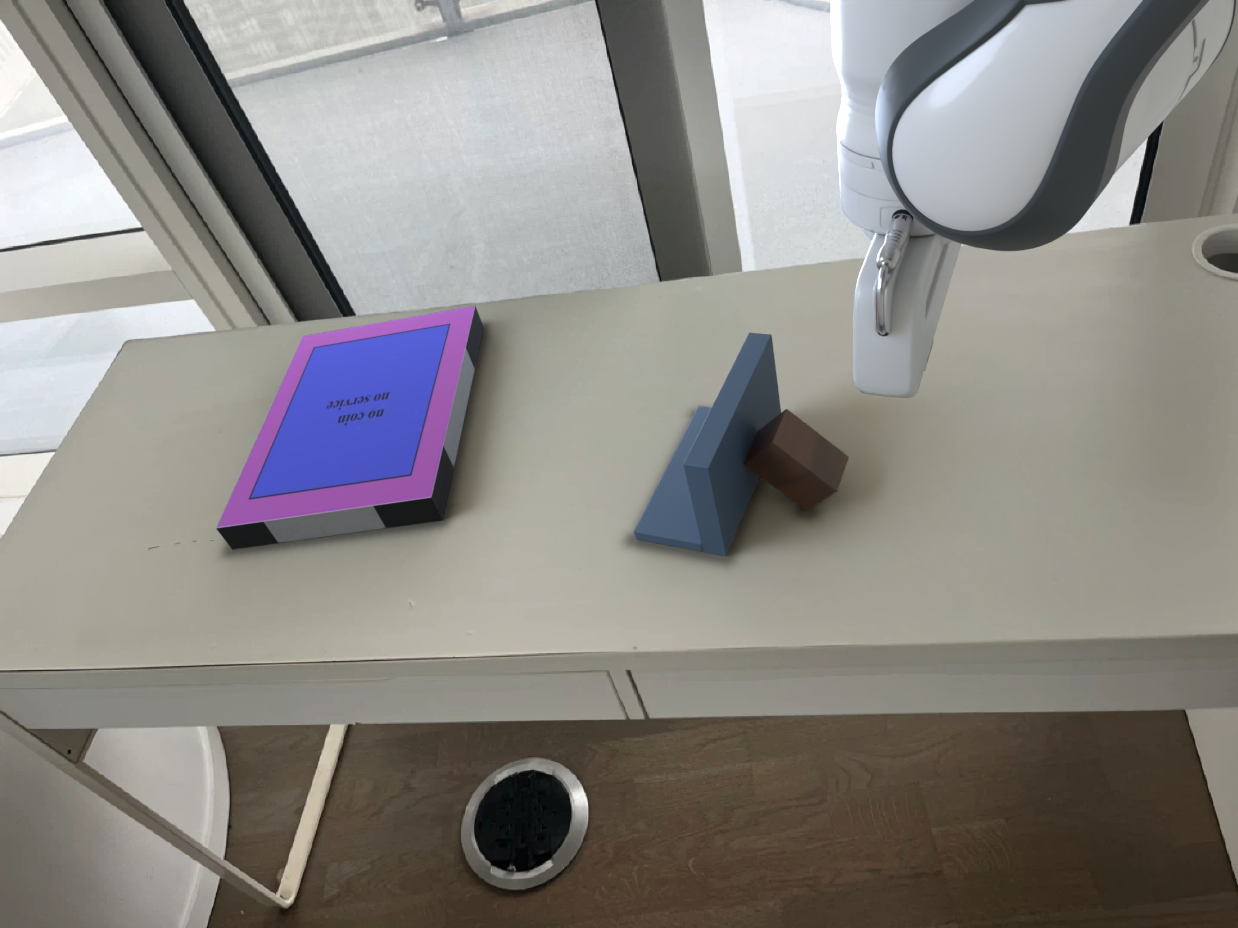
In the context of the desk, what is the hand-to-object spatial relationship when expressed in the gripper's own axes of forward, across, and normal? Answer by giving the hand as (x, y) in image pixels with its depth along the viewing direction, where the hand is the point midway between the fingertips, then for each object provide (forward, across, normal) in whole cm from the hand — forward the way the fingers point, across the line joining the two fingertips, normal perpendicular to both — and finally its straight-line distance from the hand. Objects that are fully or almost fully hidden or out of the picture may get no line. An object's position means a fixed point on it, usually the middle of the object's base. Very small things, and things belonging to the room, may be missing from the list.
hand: (915, 359), depth 62 cm
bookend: (+15, 0, +17) cm, 23 cm away
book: (+15, 0, +55) cm, 57 cm away
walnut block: (+11, 0, +9) cm, 15 cm away
